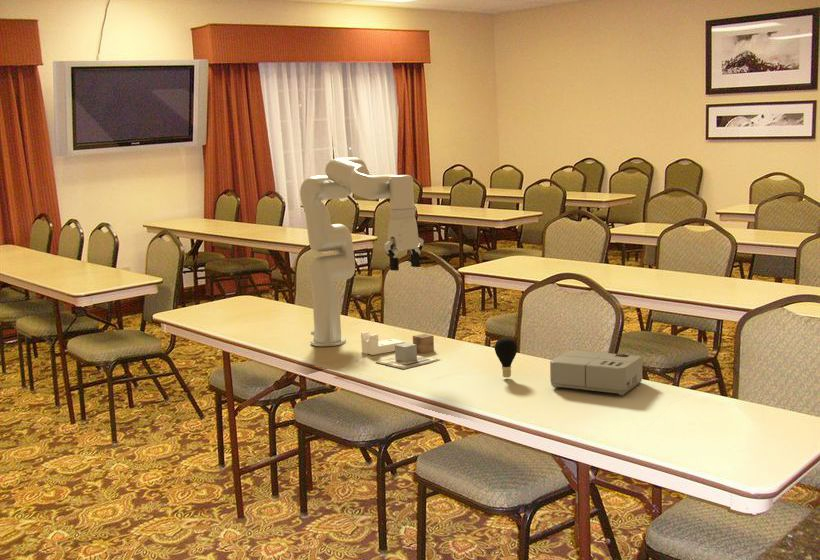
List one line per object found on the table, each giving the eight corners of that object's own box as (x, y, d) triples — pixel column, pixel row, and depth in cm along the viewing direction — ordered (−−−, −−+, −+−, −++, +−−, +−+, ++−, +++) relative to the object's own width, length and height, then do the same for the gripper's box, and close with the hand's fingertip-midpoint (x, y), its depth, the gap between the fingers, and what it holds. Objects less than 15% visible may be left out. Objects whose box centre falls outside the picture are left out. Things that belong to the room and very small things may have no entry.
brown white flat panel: (375, 362, 282) (375, 361, 282) (412, 354, 292) (412, 353, 292) (403, 369, 272) (403, 368, 272) (440, 360, 282) (440, 359, 282)
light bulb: (522, 377, 257) (522, 337, 255) (506, 381, 252) (505, 341, 251) (506, 373, 262) (505, 334, 260) (490, 377, 258) (489, 337, 256)
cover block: (395, 360, 283) (394, 345, 282) (407, 357, 286) (406, 342, 286) (405, 362, 279) (404, 347, 279) (417, 359, 282) (416, 344, 282)
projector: (624, 396, 233) (624, 368, 232) (548, 387, 245) (548, 360, 244) (644, 382, 247) (643, 355, 246) (571, 374, 259) (571, 349, 258)
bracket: (372, 357, 291) (371, 335, 290) (362, 354, 297) (361, 332, 296) (405, 351, 298) (404, 330, 297) (394, 348, 304) (393, 327, 303)
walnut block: (413, 353, 295) (412, 336, 294) (424, 350, 298) (423, 333, 297) (423, 355, 291) (422, 337, 290) (434, 352, 294) (433, 335, 293)
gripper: (412, 212, 281) (414, 265, 283) (374, 216, 269) (377, 271, 271) (429, 212, 276) (432, 266, 278) (392, 216, 264) (394, 272, 266)
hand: (405, 268), depth 275 cm, fingers open, 9 cm apart
